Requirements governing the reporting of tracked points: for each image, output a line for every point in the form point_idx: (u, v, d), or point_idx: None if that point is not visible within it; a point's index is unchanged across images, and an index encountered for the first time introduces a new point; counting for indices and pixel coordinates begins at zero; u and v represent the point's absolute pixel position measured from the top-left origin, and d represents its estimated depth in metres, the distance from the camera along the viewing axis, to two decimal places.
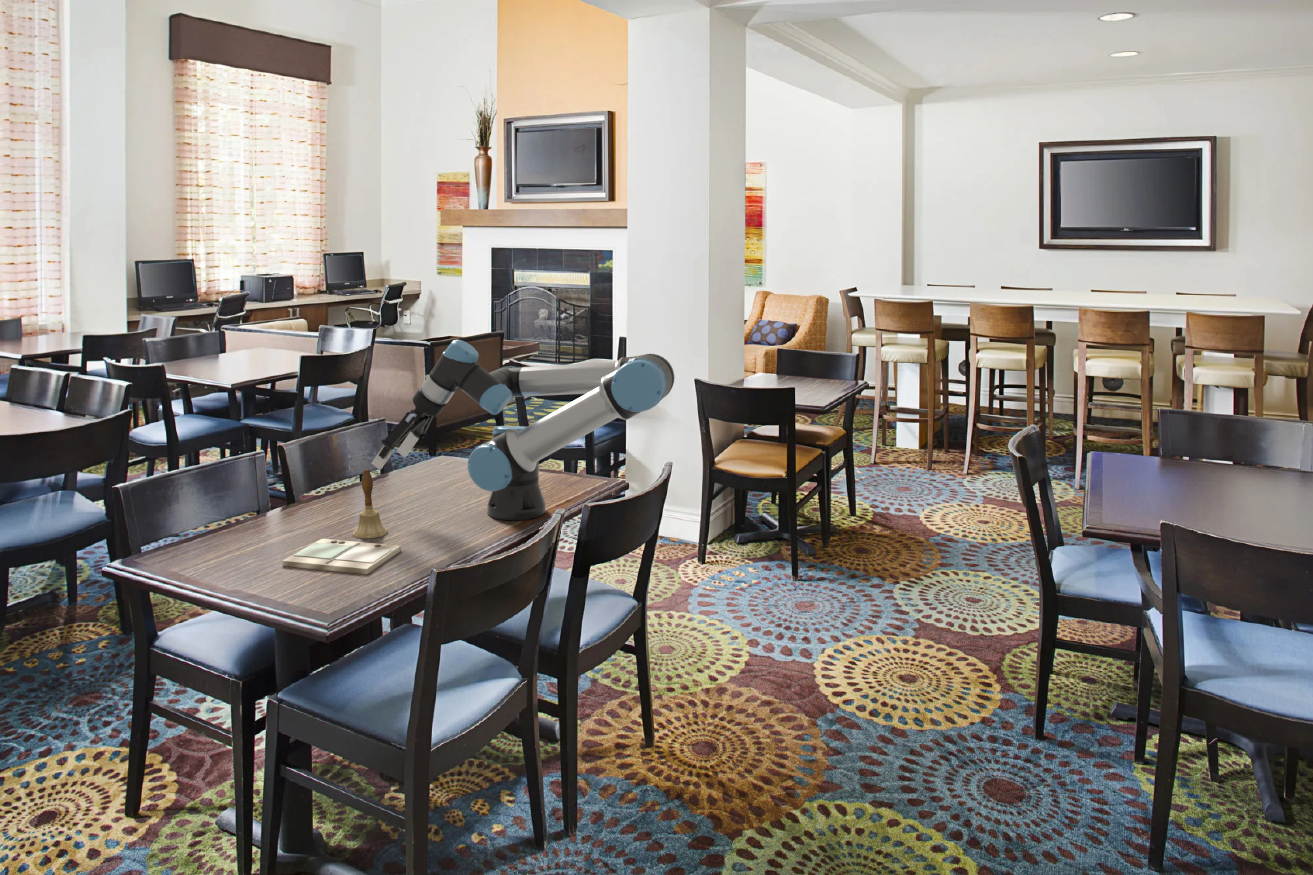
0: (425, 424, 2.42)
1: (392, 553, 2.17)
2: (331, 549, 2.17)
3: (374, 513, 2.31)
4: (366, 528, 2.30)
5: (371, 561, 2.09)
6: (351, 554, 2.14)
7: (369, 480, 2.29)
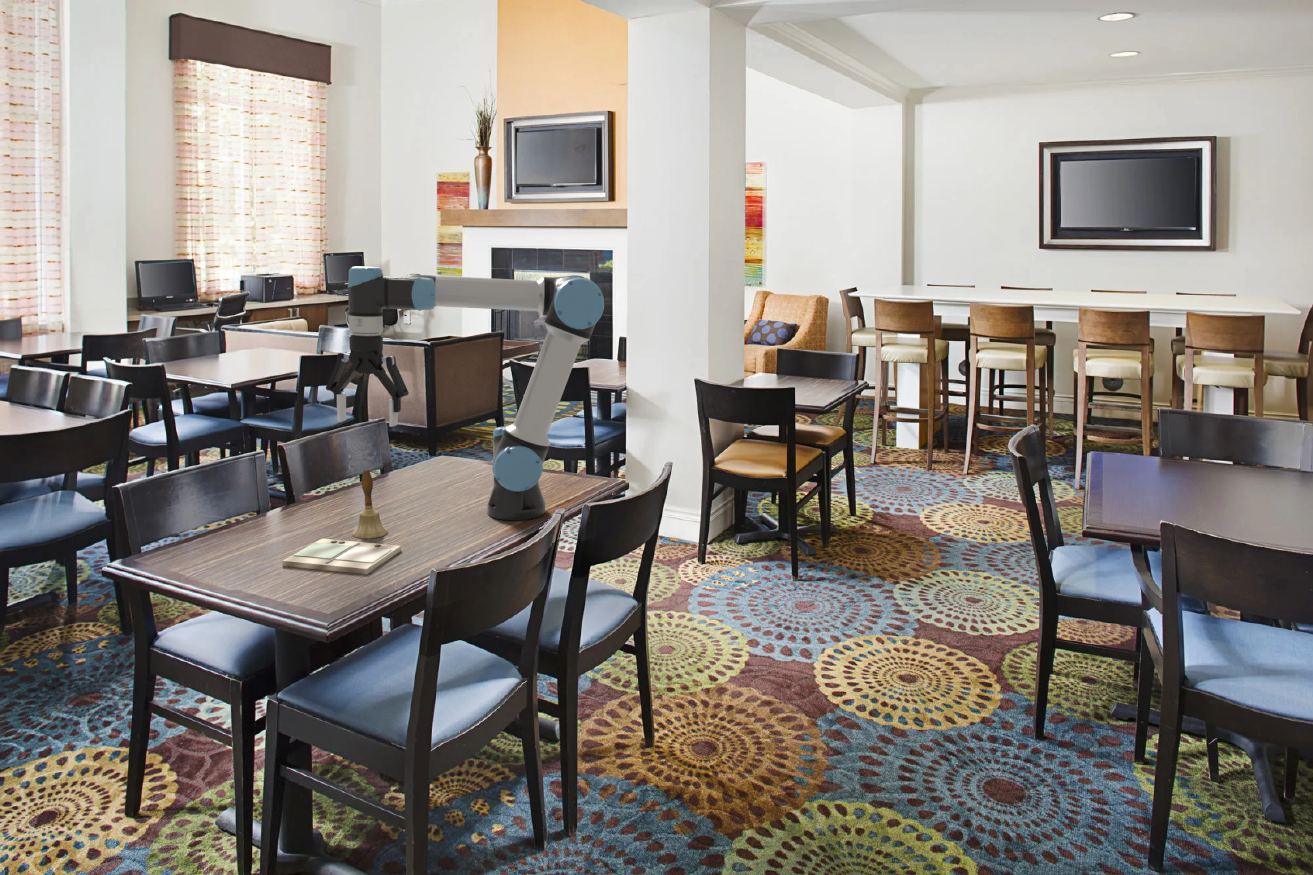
0: None
1: (392, 553, 2.17)
2: (331, 549, 2.17)
3: (374, 513, 2.31)
4: (366, 528, 2.30)
5: (371, 561, 2.09)
6: (351, 554, 2.14)
7: (369, 480, 2.29)
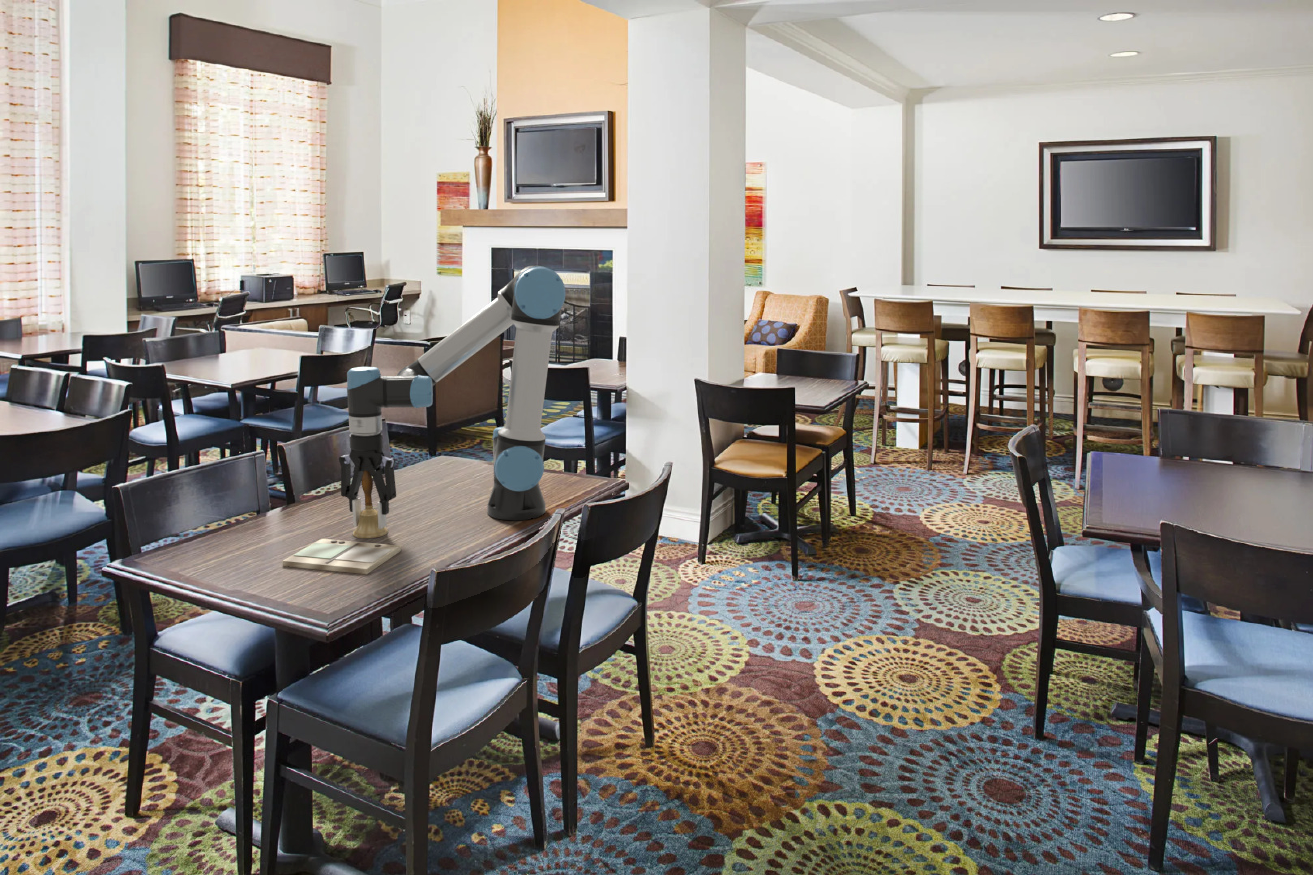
0: None
1: (392, 553, 2.17)
2: (331, 549, 2.17)
3: (375, 513, 2.31)
4: (366, 528, 2.30)
5: (371, 561, 2.09)
6: (351, 554, 2.14)
7: (369, 479, 2.29)
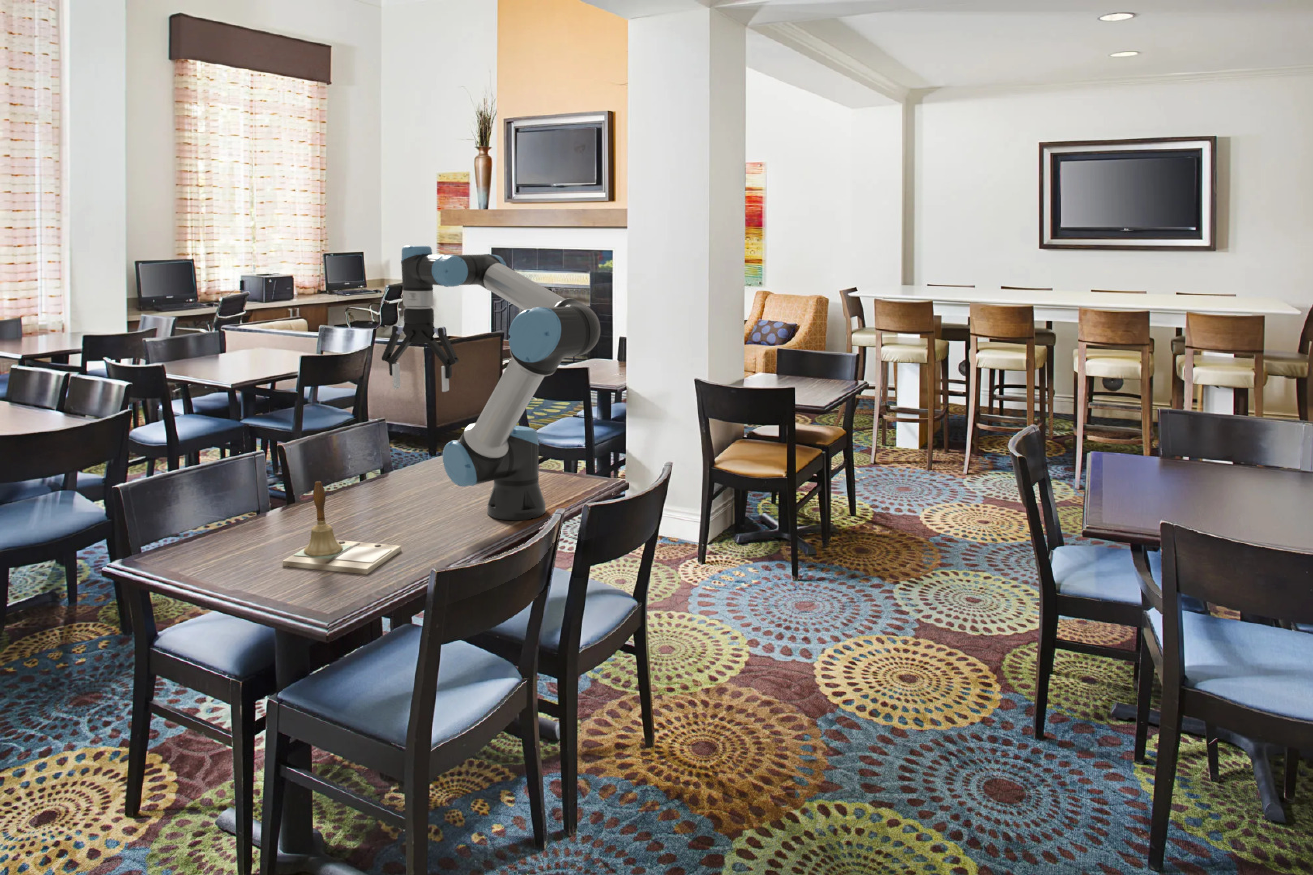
0: None
1: (392, 553, 2.17)
2: None
3: (327, 528, 2.14)
4: (318, 545, 2.13)
5: (371, 561, 2.09)
6: (351, 554, 2.14)
7: (321, 492, 2.12)
